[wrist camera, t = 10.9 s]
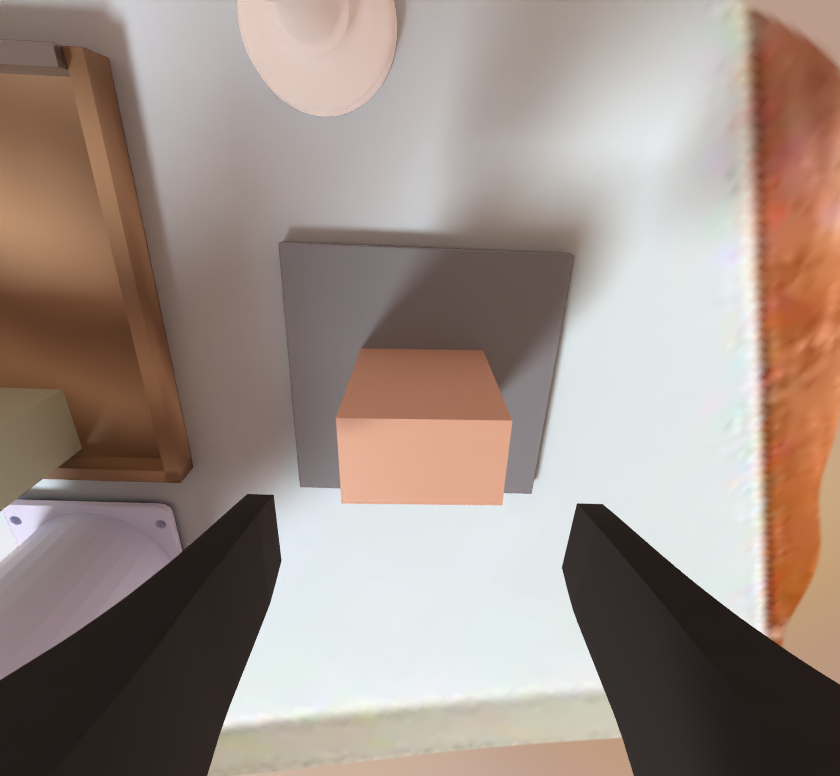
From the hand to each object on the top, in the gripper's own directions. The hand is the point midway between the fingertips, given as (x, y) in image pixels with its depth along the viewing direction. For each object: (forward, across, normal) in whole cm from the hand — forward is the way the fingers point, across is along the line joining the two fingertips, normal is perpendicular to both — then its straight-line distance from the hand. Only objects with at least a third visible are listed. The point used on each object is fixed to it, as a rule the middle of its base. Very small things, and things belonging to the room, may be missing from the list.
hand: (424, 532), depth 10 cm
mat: (+9, 0, 0) cm, 9 cm away
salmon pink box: (+9, 0, 0) cm, 9 cm away
